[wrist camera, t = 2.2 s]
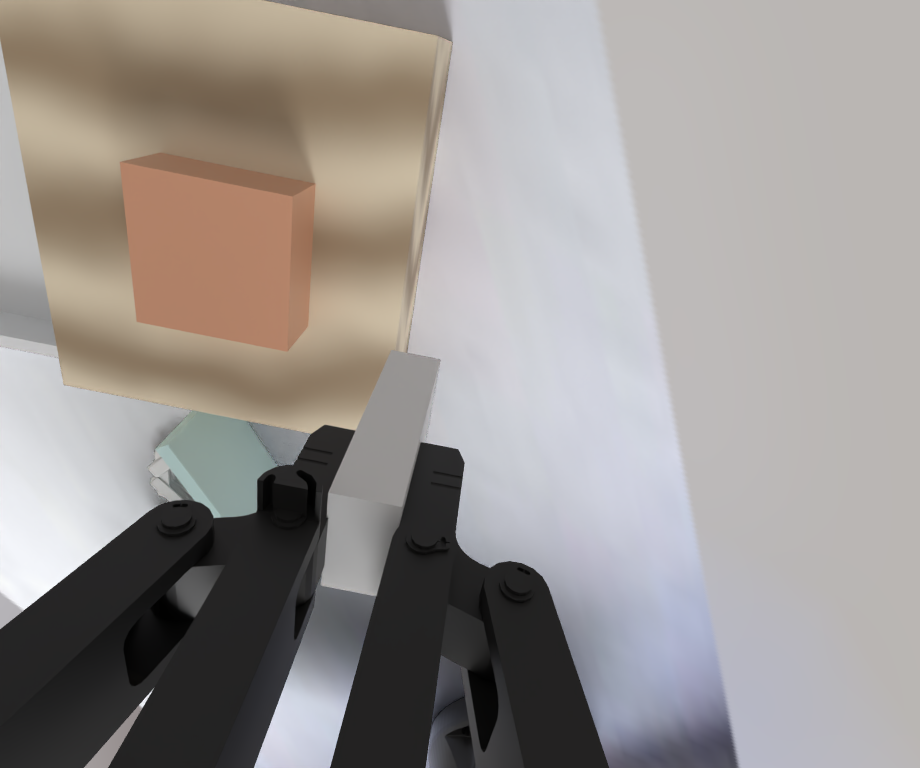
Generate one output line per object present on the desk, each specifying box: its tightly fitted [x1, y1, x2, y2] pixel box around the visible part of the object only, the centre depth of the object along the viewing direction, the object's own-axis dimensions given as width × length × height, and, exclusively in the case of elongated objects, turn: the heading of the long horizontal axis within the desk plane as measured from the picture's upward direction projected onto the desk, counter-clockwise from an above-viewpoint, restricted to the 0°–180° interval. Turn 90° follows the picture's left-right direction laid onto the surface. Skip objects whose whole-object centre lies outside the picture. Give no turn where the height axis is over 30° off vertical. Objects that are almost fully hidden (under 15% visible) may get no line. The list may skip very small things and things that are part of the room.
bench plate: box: [0, 0, 453, 434], centre depth 30 cm, size 20×18×6 cm
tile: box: [120, 152, 316, 352], centre depth 26 cm, size 7×7×3 cm
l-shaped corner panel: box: [148, 410, 277, 518], centre depth 40 cm, size 12×12×8 cm
